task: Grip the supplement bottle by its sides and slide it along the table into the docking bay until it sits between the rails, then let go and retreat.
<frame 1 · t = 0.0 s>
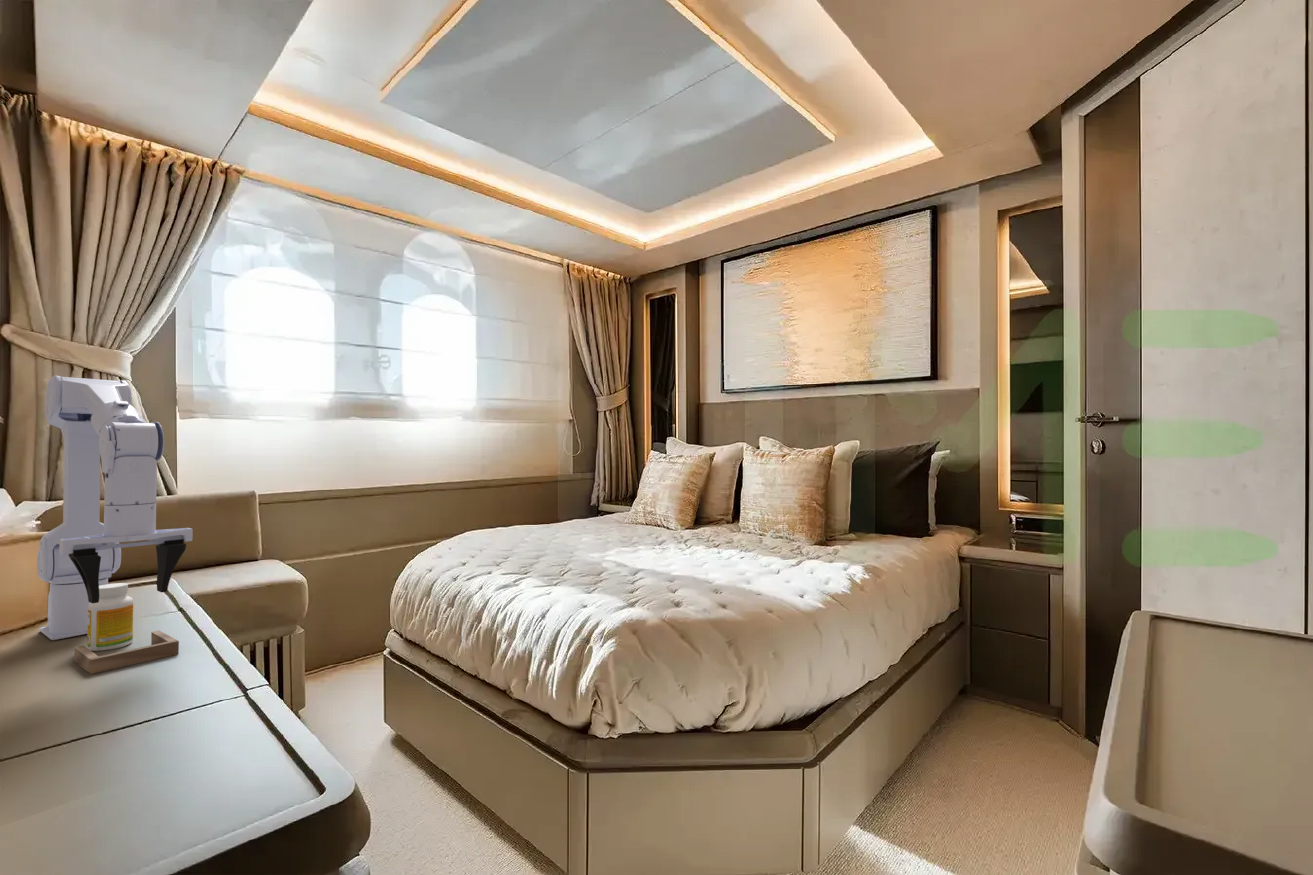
hand: (129, 596, 86), 10 cm above the table, fingers open, 7 cm apart
supplement bottle: (110, 647, 95), on the table
bay: (126, 656, 90), on the table
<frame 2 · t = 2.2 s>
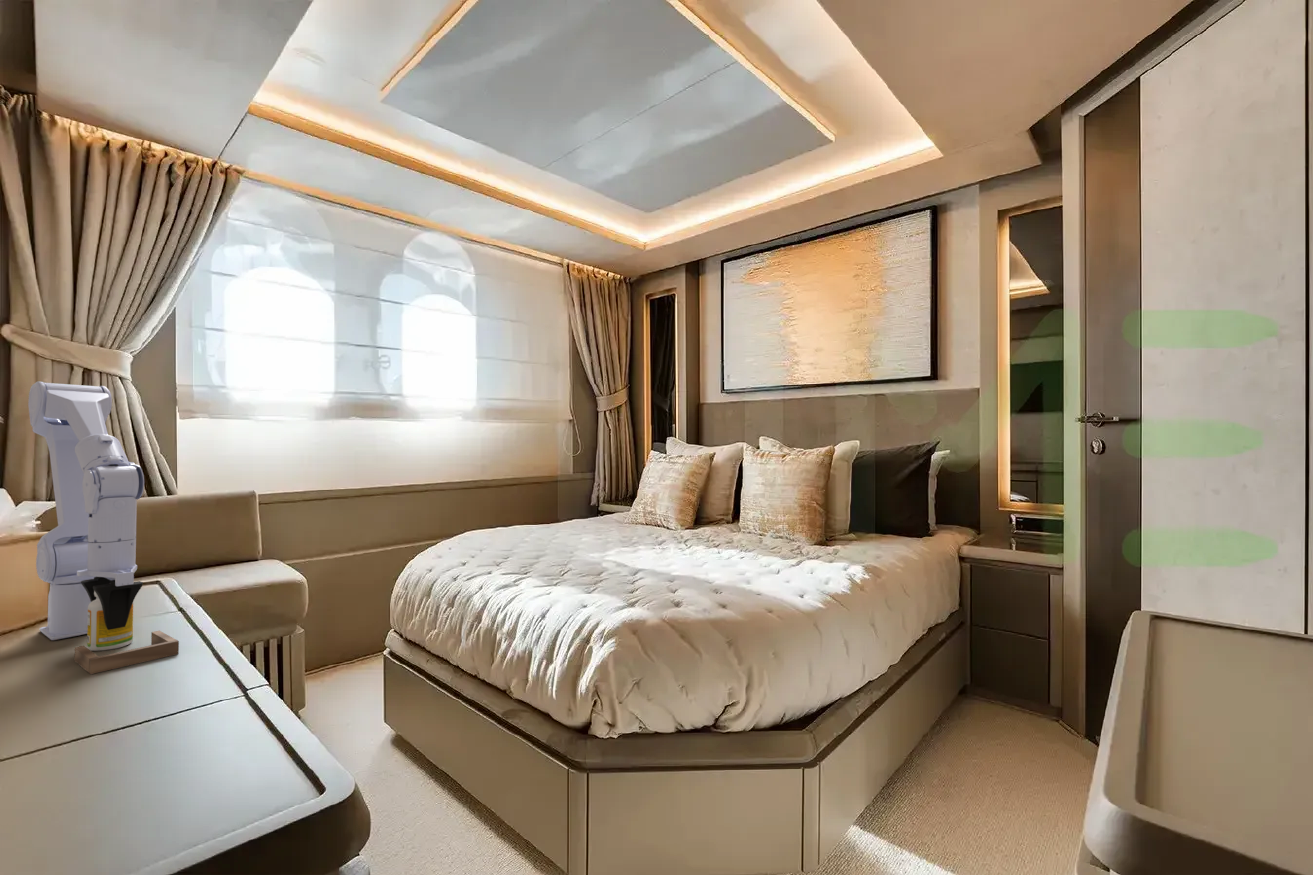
hand: (110, 624, 95), 3 cm above the table, fingers closed on supplement bottle, 5 cm apart
supplement bottle: (110, 647, 95), on the table, touching gripper
when the fingers open (3 cm above the table, at t = 3.4 s): supplement bottle stays where it is, on the table.
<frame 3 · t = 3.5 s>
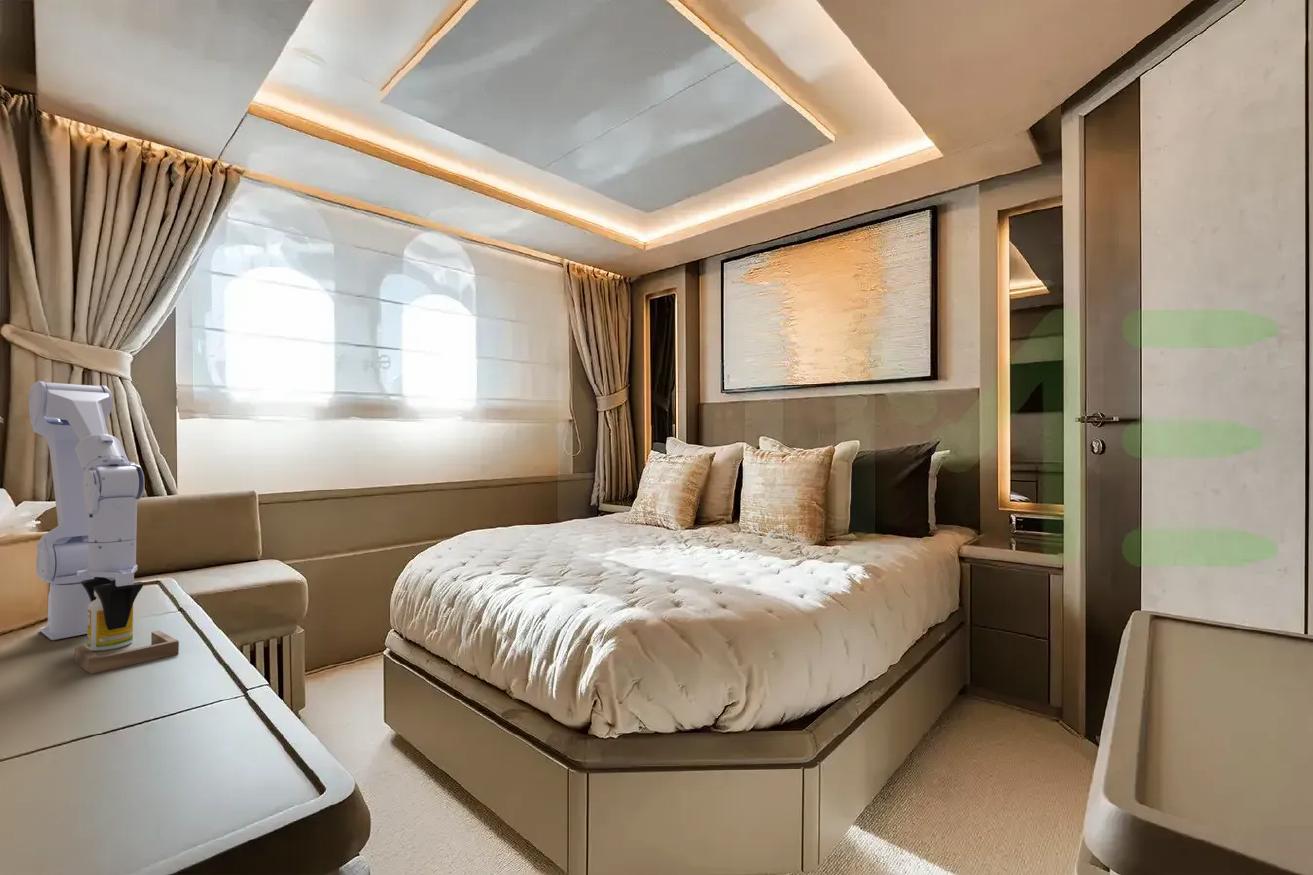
hand: (111, 624, 94), 3 cm above the table, fingers open, 6 cm apart
supplement bottle: (110, 647, 95), on the table, touching gripper
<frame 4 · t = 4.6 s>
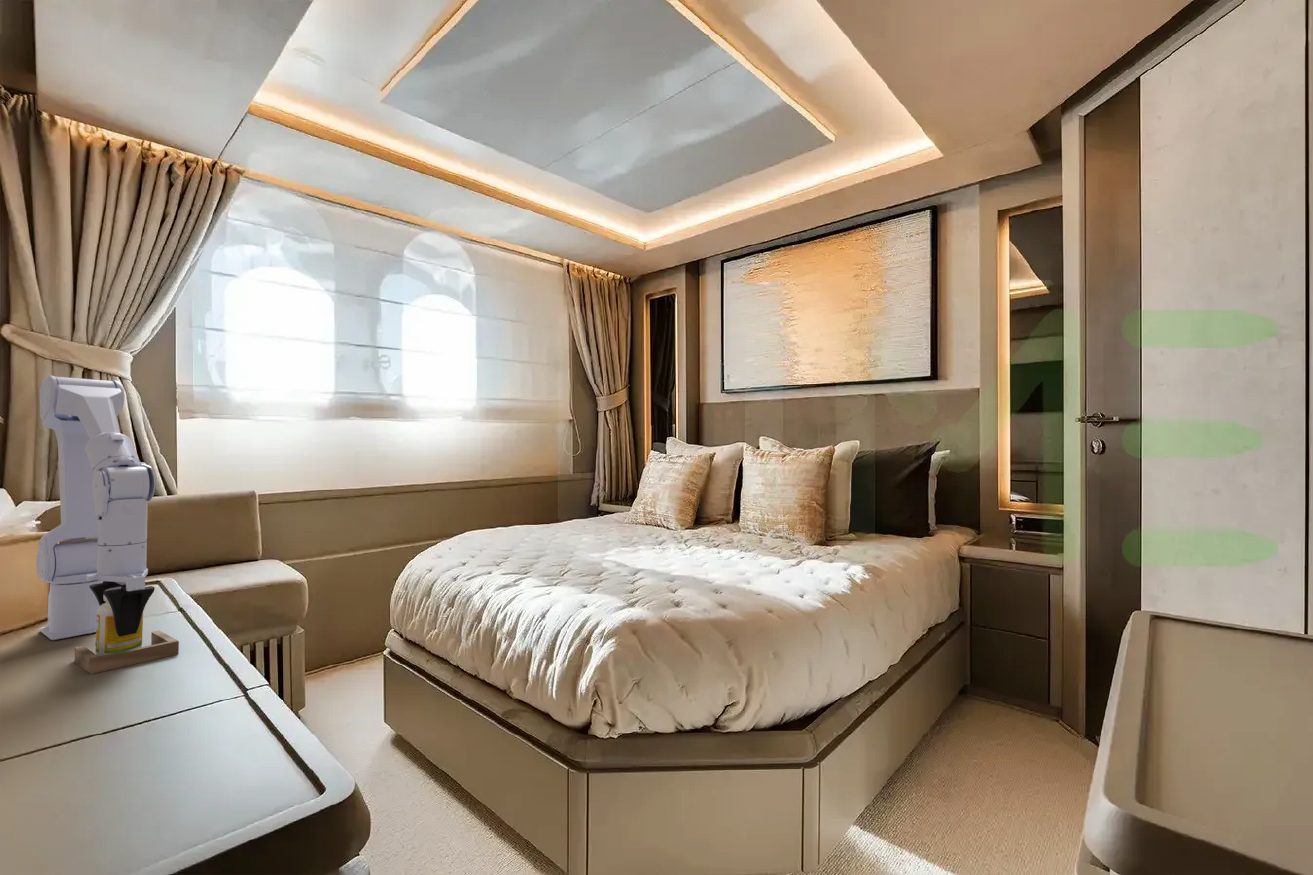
hand: (121, 630, 91), 3 cm above the table, fingers open, 6 cm apart
supplement bottle: (119, 652, 92), on the table, touching gripper
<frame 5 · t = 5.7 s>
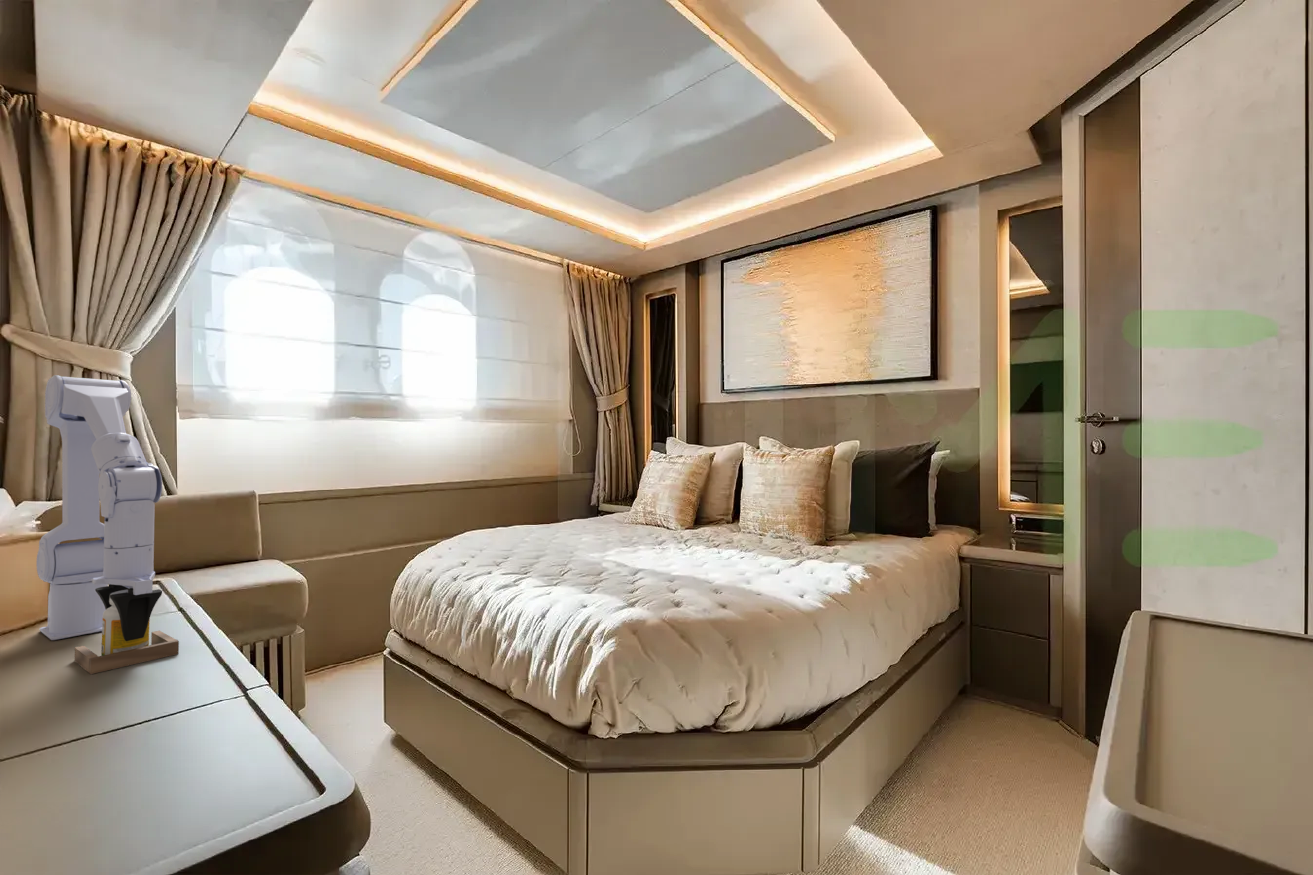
hand: (127, 634, 89), 3 cm above the table, fingers open, 6 cm apart
supplement bottle: (125, 656, 90), on the table, touching gripper
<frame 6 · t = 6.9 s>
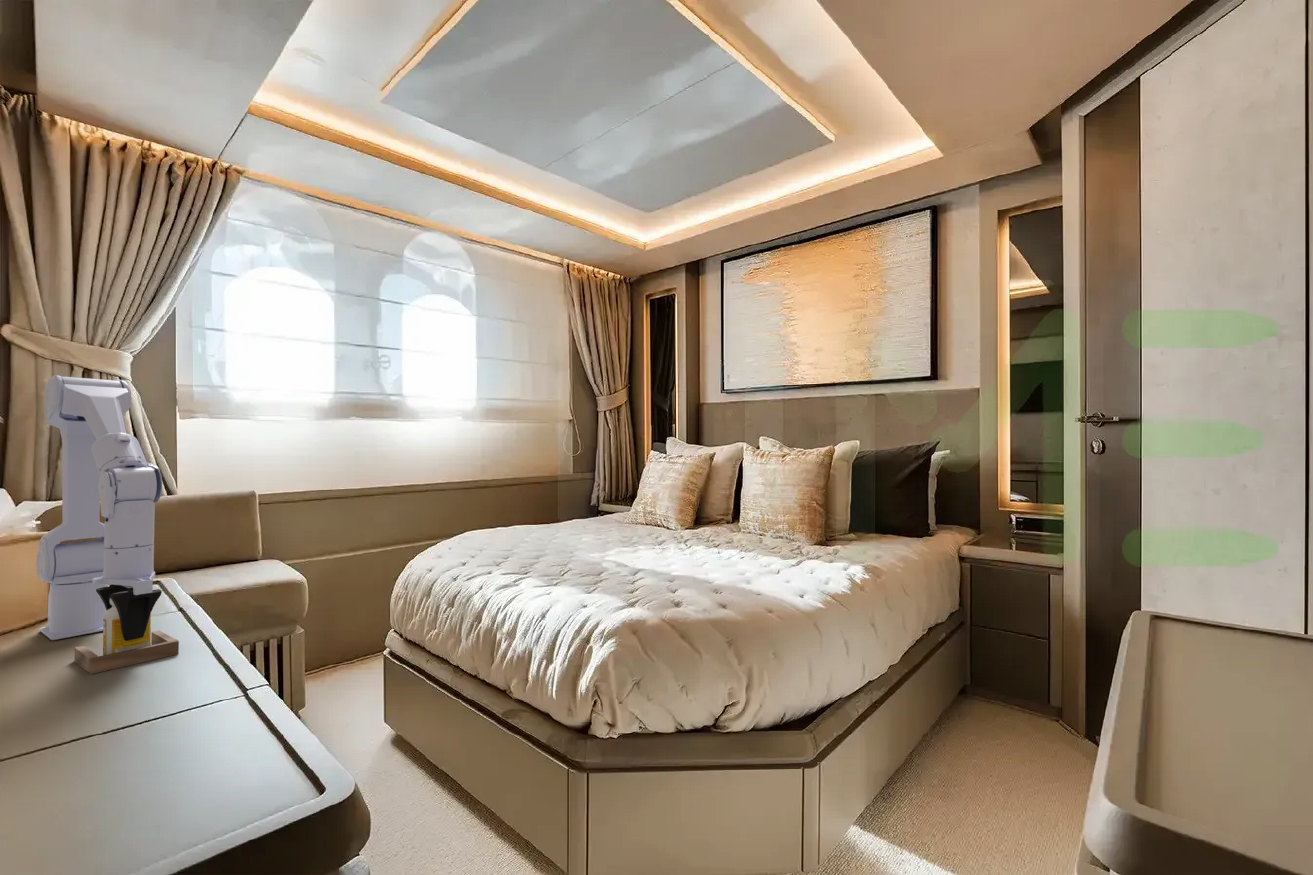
hand: (127, 634, 89), 3 cm above the table, fingers closed on supplement bottle, 5 cm apart
supplement bottle: (127, 658, 89), on the table, touching gripper
when the fingers open (3 cm above the table, at t = 6.9 s): supplement bottle stays where it is, on the table.
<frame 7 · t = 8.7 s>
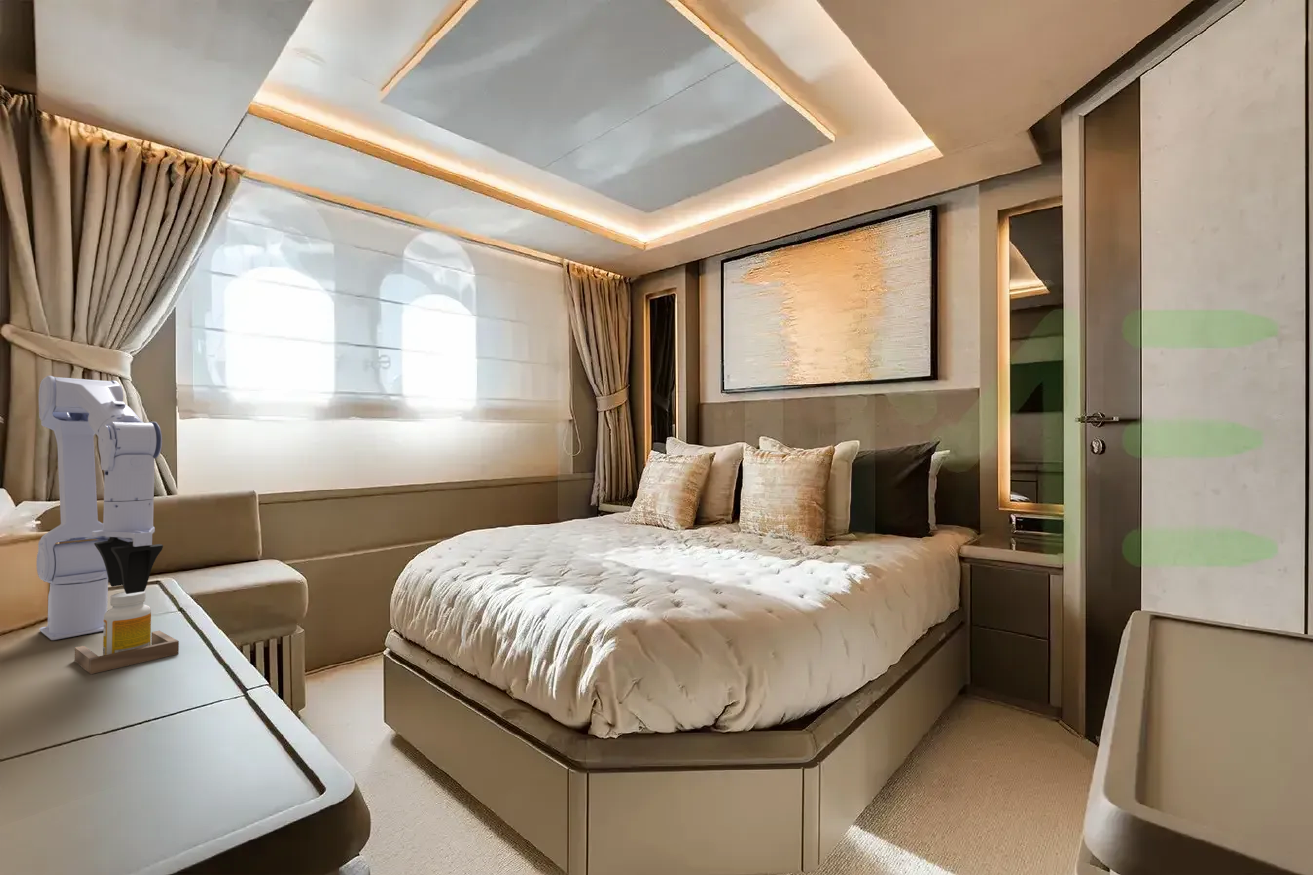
hand: (127, 588, 90), 10 cm above the table, fingers open, 7 cm apart
supplement bottle: (127, 658, 89), on the table
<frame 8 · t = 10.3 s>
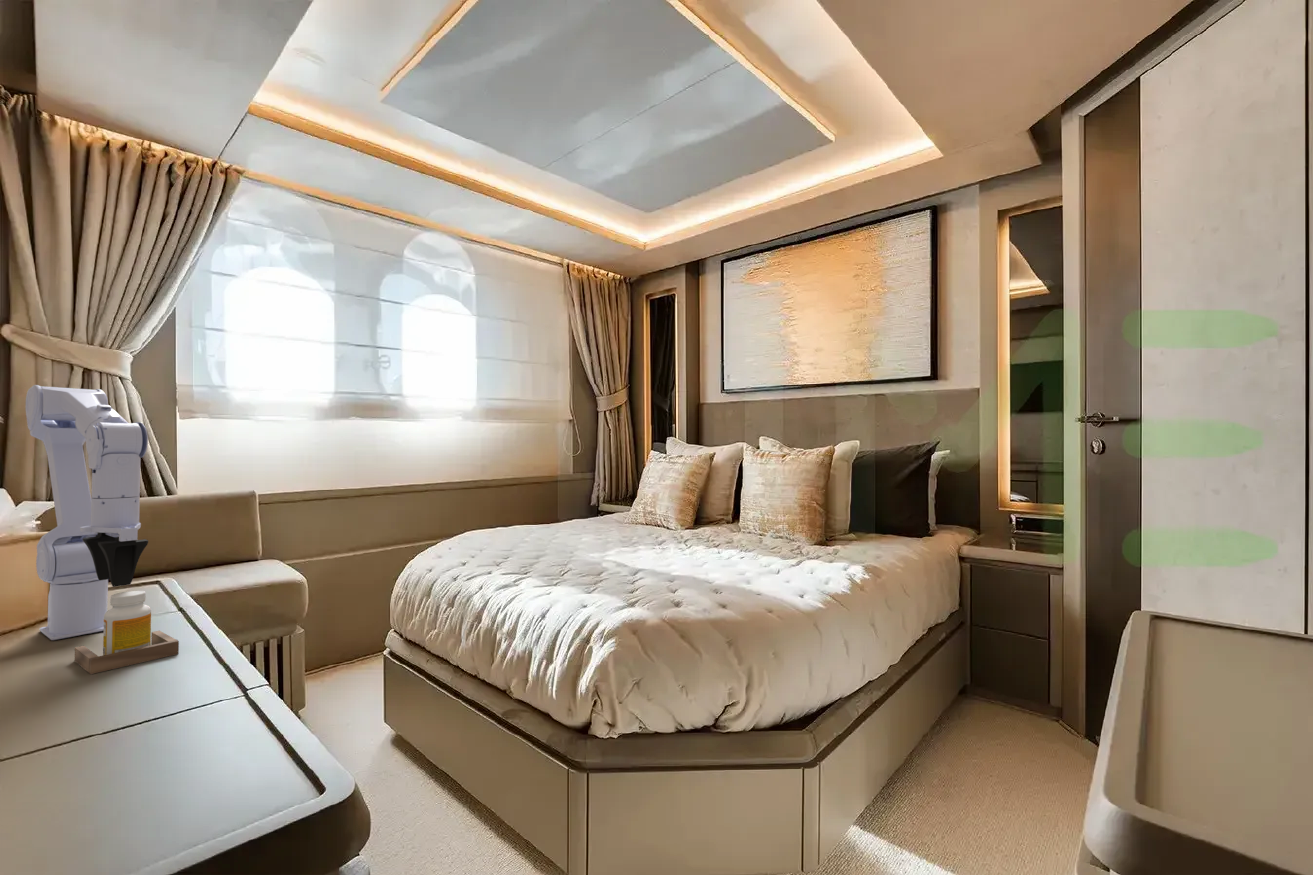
hand: (114, 582, 94), 10 cm above the table, fingers open, 7 cm apart
nothing on the table moved.
at the end: supplement bottle 0.6 cm off-centre on the bay, point 0.0 cm above the bay's base; supplement bottle tilted 0°; the gripper is holding nothing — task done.
